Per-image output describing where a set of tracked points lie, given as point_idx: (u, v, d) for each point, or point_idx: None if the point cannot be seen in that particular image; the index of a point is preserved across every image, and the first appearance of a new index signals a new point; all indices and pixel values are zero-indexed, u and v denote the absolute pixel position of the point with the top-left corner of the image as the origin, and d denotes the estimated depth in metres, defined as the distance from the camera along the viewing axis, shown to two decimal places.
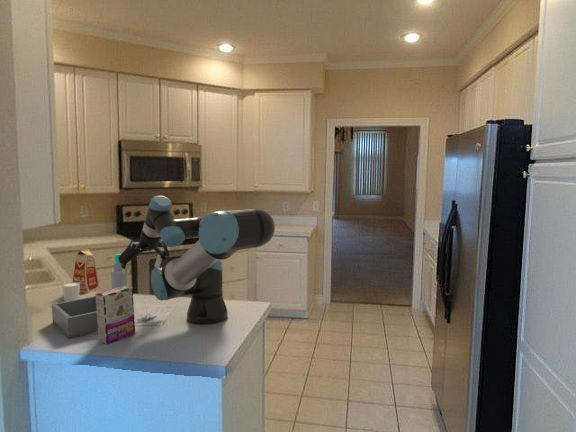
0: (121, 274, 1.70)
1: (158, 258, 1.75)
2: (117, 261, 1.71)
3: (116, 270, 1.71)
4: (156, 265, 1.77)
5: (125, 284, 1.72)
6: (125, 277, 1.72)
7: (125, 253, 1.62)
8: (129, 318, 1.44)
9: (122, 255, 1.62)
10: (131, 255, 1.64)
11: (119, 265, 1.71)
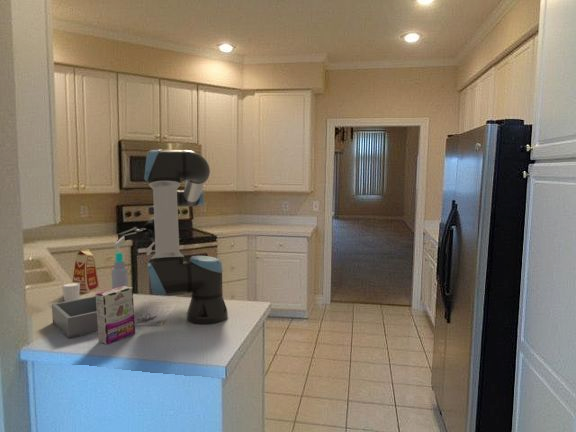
0: (121, 272, 1.72)
1: None
2: (117, 259, 1.73)
3: (116, 268, 1.72)
4: None
5: (125, 282, 1.73)
6: (125, 275, 1.73)
7: None
8: (129, 318, 1.44)
9: None
10: None
11: (119, 263, 1.72)
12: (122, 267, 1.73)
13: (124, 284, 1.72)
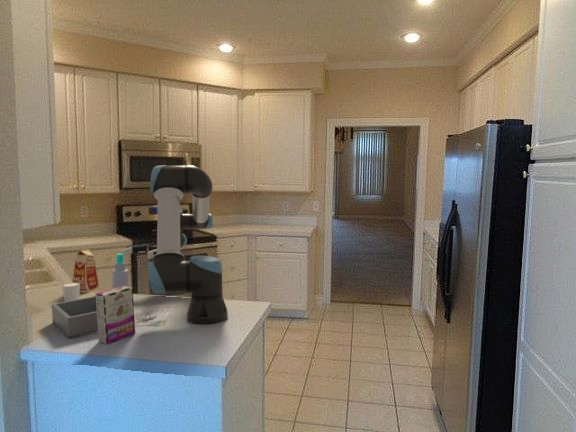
0: (122, 274, 1.70)
1: None
2: (118, 261, 1.71)
3: (117, 270, 1.70)
4: None
5: (126, 284, 1.72)
6: (126, 277, 1.72)
7: None
8: (129, 318, 1.44)
9: None
10: None
11: (120, 265, 1.71)
12: (123, 269, 1.71)
13: None
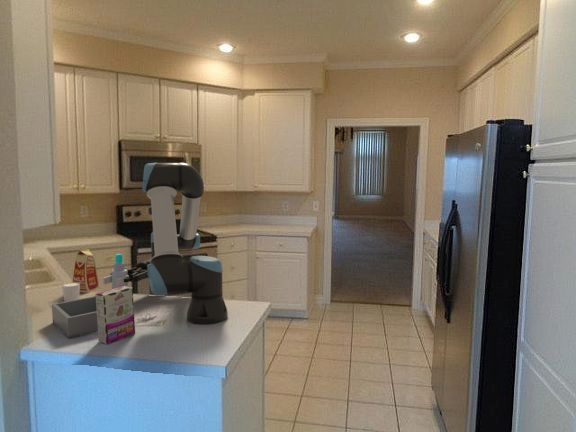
0: (121, 274, 1.70)
1: None
2: (117, 261, 1.71)
3: (116, 270, 1.70)
4: None
5: (125, 284, 1.72)
6: None
7: None
8: (129, 318, 1.44)
9: None
10: None
11: (119, 265, 1.71)
12: (122, 269, 1.71)
13: None
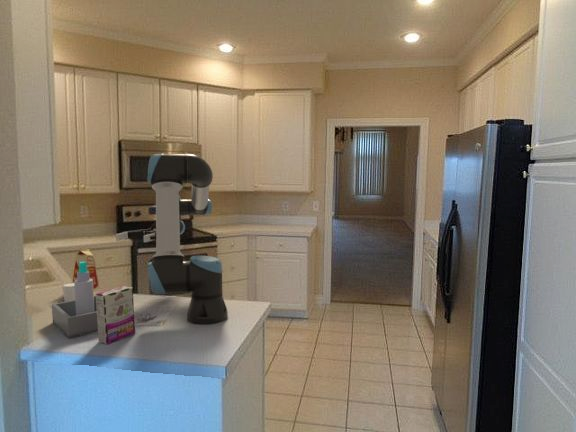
0: (85, 285, 1.51)
1: None
2: (81, 270, 1.51)
3: (80, 280, 1.51)
4: None
5: (90, 296, 1.52)
6: (90, 288, 1.52)
7: None
8: (129, 318, 1.44)
9: None
10: None
11: (83, 274, 1.51)
12: (86, 279, 1.52)
13: (89, 298, 1.52)
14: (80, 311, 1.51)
